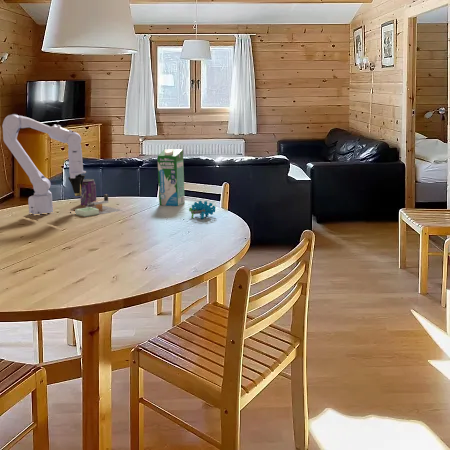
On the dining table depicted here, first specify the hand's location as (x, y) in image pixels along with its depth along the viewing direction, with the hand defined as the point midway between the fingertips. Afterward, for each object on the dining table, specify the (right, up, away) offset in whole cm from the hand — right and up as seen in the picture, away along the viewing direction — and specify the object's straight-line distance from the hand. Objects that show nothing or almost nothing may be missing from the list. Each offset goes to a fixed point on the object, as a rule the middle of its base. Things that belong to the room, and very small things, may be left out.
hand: (77, 192), depth 263 cm
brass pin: (0, -1, 0) cm, 1 cm away
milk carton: (+39, -4, +19) cm, 44 cm away
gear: (+54, -11, -11) cm, 56 cm away
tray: (+5, -9, -5) cm, 12 cm away
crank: (+8, -5, +4) cm, 10 cm away
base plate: (+6, -9, +2) cm, 11 cm away
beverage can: (+1, -5, +18) cm, 19 cm away
